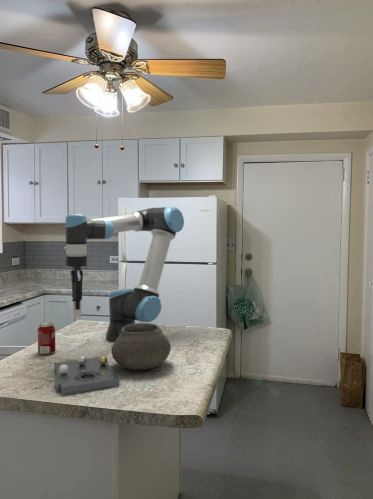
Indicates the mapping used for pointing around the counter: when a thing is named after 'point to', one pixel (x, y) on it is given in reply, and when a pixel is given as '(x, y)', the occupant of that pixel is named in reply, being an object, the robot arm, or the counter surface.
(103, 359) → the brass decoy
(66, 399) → the counter surface
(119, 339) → the clay pot
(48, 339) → the soda can
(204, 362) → the counter surface
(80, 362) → the steel ball
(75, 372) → the grey flat block
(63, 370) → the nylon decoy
